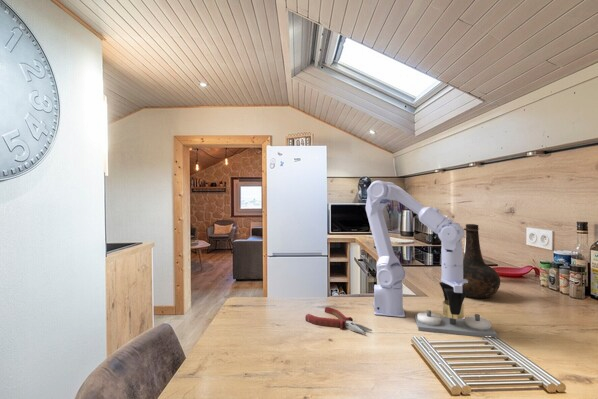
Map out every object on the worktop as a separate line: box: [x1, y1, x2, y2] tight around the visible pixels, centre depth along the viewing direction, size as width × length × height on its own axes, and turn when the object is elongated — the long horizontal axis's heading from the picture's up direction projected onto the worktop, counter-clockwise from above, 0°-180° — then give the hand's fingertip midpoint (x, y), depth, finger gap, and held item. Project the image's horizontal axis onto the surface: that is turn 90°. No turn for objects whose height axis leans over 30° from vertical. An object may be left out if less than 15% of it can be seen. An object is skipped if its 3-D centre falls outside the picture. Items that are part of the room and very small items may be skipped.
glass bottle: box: [462, 223, 501, 299], centre depth 120 cm, size 18×18×28 cm
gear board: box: [414, 309, 499, 339], centre depth 89 cm, size 20×10×4 cm, turn 75°
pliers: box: [305, 306, 373, 335], centre depth 91 cm, size 12×20×3 cm, turn 44°
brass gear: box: [441, 299, 465, 319], centre depth 89 cm, size 5×5×4 cm
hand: (452, 310), depth 89 cm, fingers closed on brass gear, 5 cm apart
